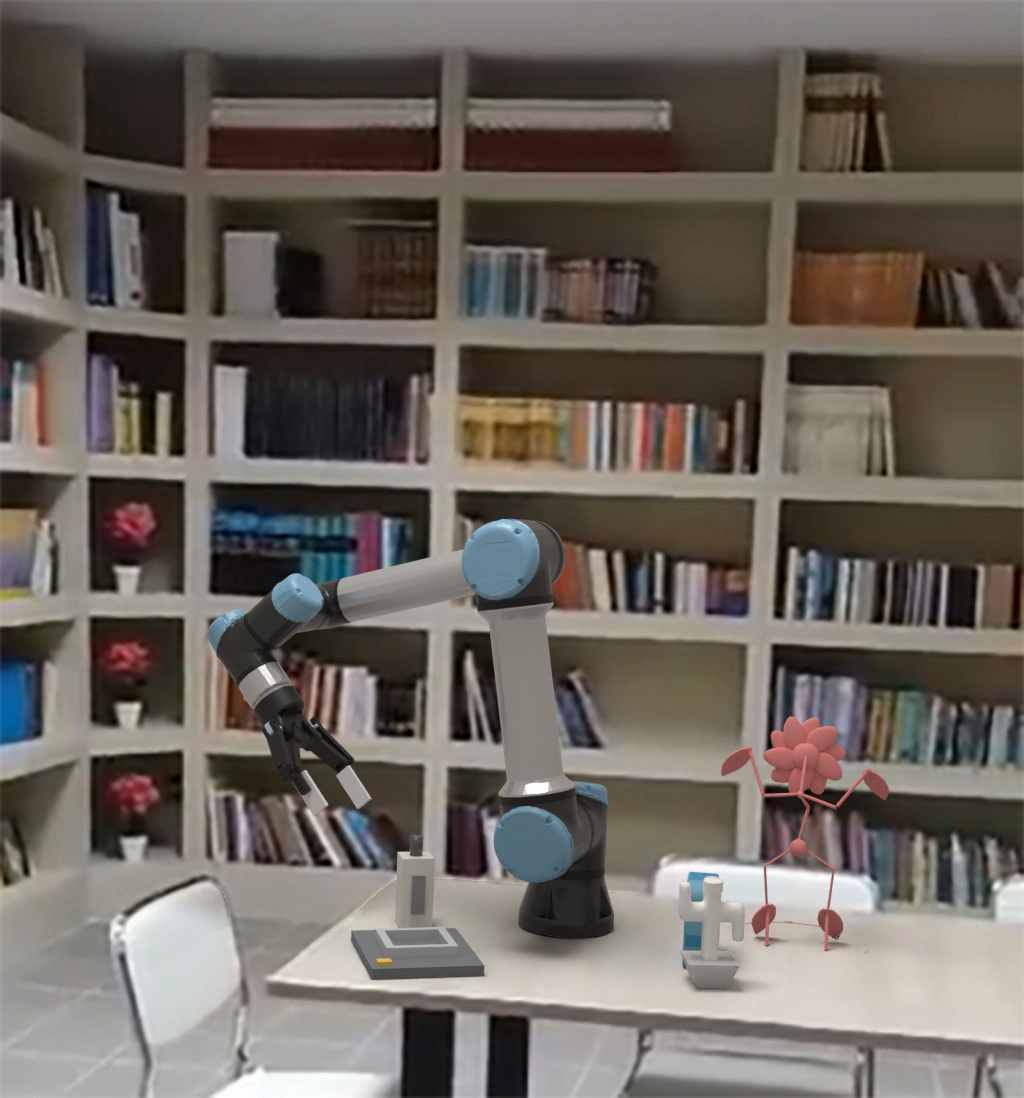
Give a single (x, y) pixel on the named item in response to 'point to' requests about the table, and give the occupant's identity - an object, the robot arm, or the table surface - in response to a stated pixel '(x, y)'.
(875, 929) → the table surface
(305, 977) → the table surface
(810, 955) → the table surface
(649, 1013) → the table surface
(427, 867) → the plug
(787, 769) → the pink flower stick figure
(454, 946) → the dock
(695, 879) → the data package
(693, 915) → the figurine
